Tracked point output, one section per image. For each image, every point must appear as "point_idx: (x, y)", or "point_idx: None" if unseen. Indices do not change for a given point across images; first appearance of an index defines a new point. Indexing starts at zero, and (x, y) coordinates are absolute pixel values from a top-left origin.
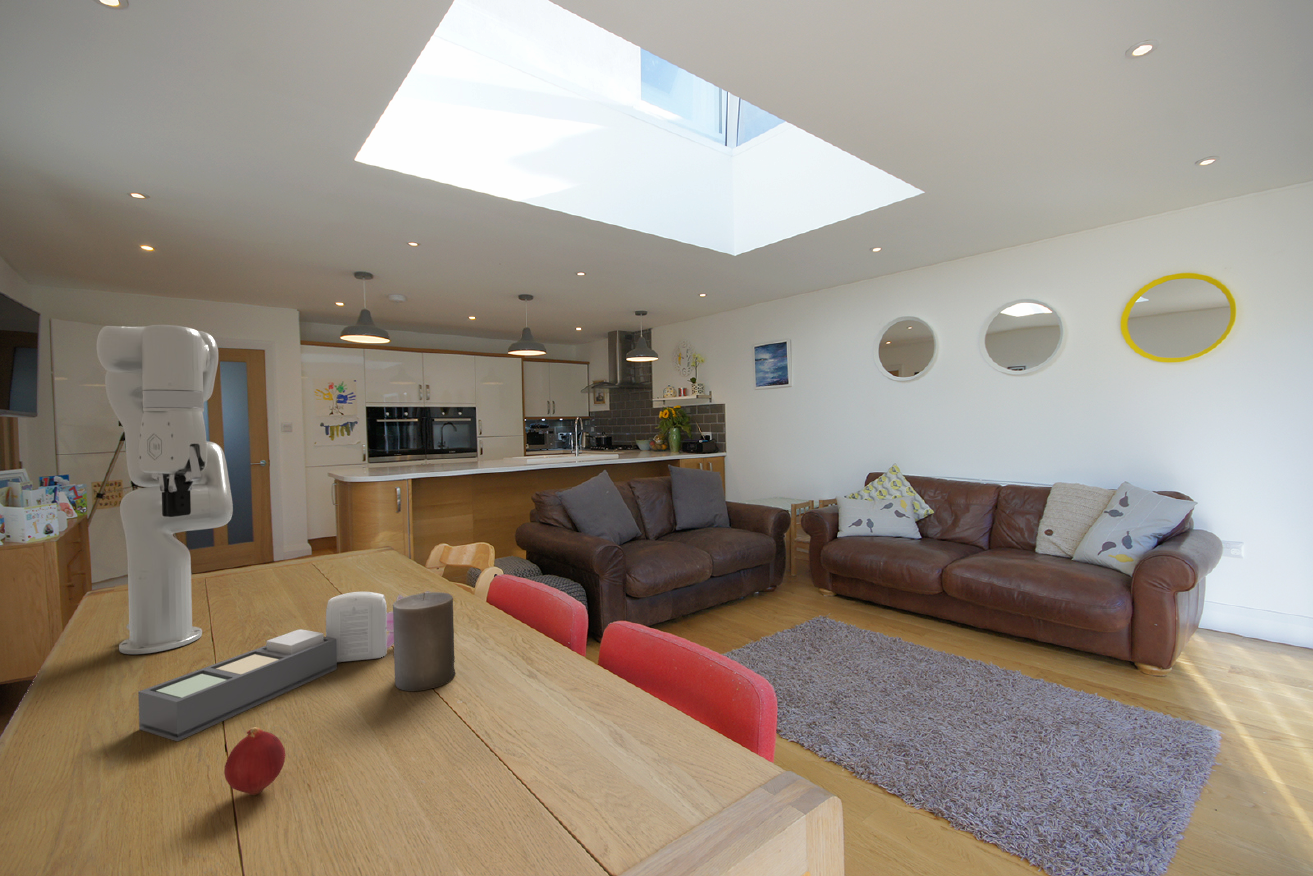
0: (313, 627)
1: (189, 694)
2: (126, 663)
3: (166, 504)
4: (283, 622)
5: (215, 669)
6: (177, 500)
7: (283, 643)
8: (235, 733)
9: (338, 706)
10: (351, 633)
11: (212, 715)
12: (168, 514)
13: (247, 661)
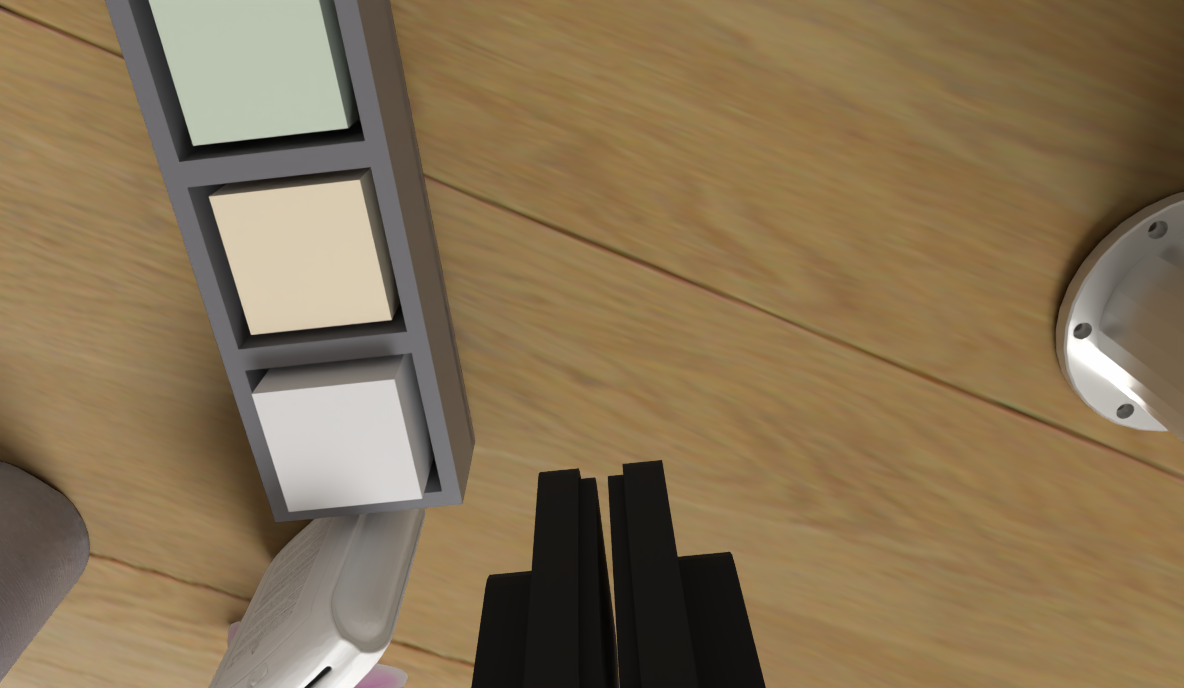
0: (770, 615)
1: (153, 6)
2: (1096, 151)
3: (564, 560)
4: (930, 599)
5: (329, 168)
6: (475, 676)
7: (300, 393)
8: (67, 62)
9: (10, 313)
10: (292, 573)
11: None
12: (542, 484)
13: (332, 271)
